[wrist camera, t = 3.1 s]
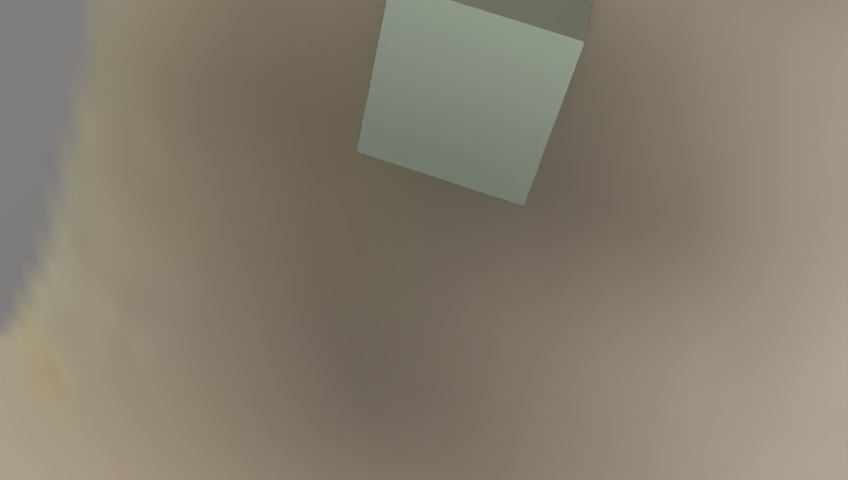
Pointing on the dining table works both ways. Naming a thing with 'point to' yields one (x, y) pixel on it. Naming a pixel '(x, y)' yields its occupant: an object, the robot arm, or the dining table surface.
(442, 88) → the sage cube
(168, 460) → the dining table surface
